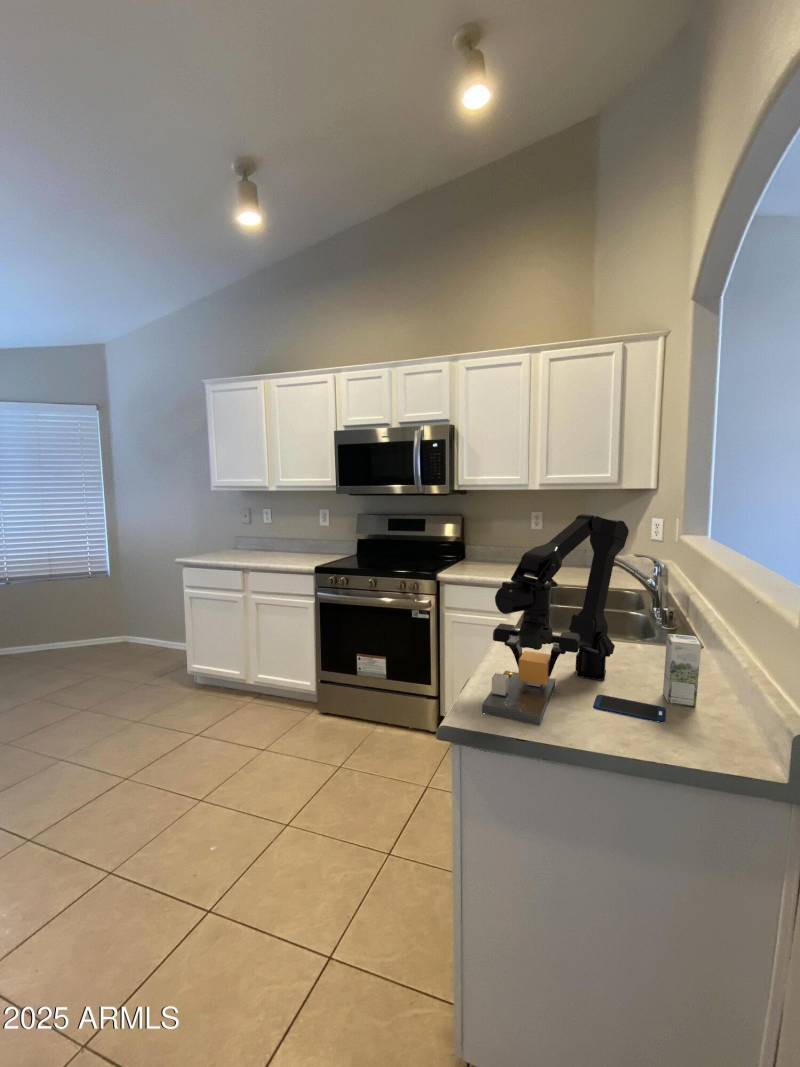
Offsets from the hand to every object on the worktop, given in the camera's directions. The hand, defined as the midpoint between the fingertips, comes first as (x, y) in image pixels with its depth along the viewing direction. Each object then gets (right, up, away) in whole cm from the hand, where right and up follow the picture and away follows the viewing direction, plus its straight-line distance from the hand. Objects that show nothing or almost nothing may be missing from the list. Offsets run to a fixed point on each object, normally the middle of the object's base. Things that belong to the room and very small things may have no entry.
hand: (534, 673), depth 115 cm
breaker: (-9, -3, -4) cm, 10 cm away
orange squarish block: (0, -1, 0) cm, 1 cm away
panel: (-4, -5, -3) cm, 7 cm away
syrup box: (+31, -5, -3) cm, 32 cm away
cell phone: (+18, -6, -7) cm, 21 cm away
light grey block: (0, -2, 0) cm, 2 cm away
